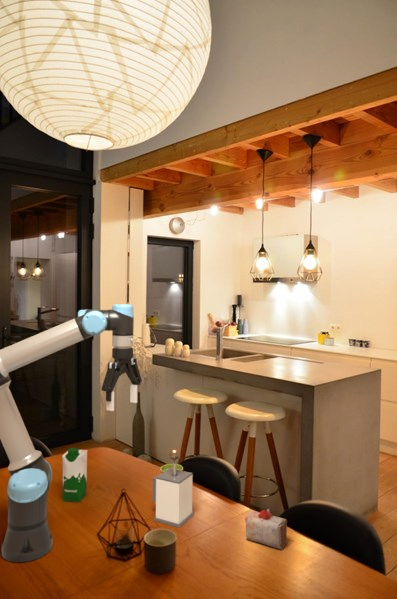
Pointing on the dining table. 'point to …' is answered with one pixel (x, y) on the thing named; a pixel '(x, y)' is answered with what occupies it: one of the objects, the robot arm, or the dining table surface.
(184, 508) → the tall white box
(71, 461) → the milk carton
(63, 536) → the dining table surface
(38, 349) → the robot arm
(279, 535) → the food item
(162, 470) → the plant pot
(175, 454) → the plunger
